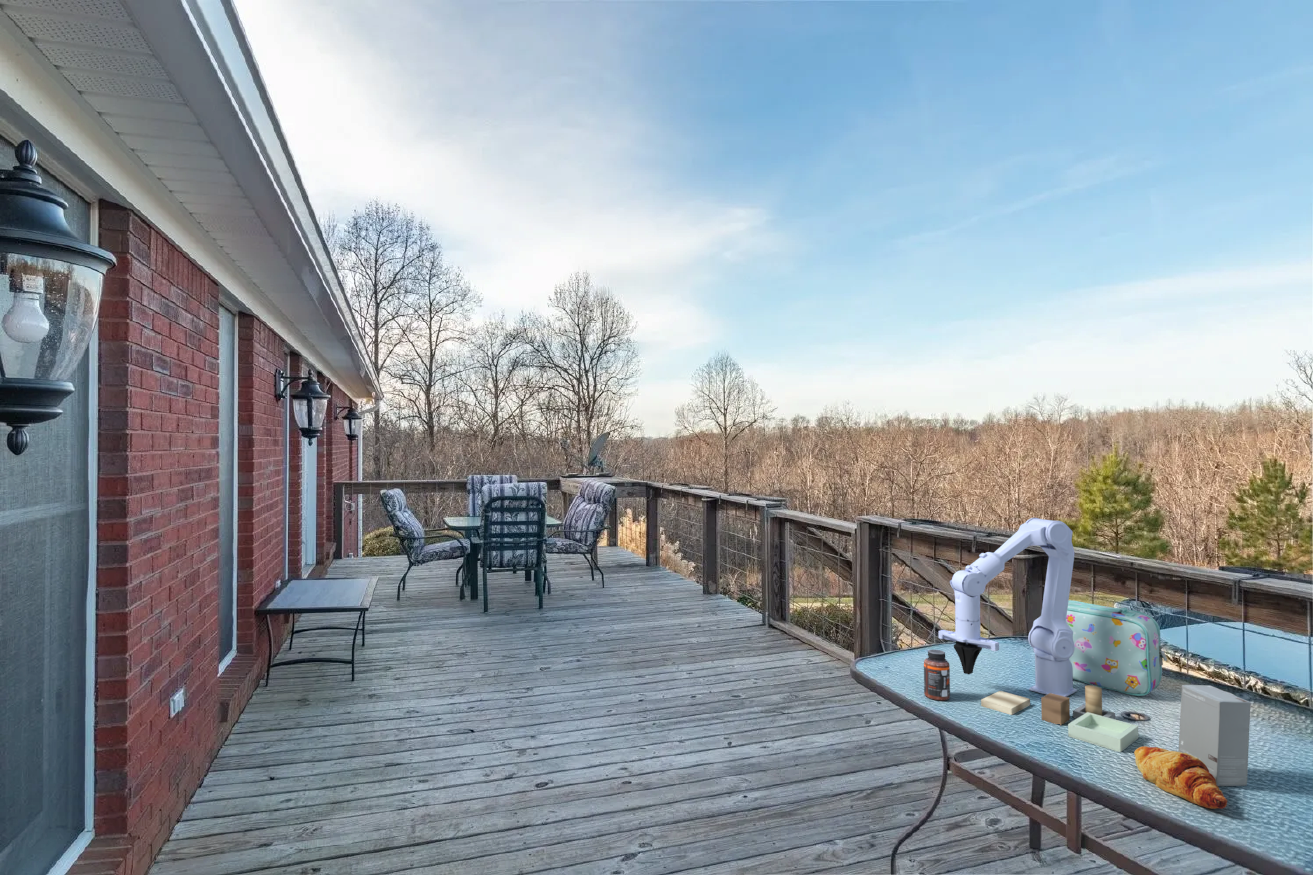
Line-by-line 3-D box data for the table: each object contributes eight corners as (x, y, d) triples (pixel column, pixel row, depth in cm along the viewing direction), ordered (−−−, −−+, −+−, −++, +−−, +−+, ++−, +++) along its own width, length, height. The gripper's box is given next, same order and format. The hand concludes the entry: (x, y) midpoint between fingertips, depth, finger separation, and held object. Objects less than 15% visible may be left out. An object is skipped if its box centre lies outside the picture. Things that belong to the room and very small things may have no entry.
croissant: (1123, 777, 128) (1103, 740, 129) (1169, 753, 128) (1148, 717, 129) (1209, 836, 107) (1184, 792, 108) (1264, 809, 107) (1238, 764, 107)
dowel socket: (1083, 710, 153) (1083, 704, 153) (1115, 719, 148) (1115, 712, 148) (1072, 717, 149) (1072, 710, 149) (1105, 726, 144) (1104, 719, 144)
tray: (1087, 723, 145) (1087, 711, 145) (1138, 738, 138) (1138, 725, 138) (1068, 736, 139) (1068, 724, 139) (1120, 752, 131) (1120, 739, 131)
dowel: (1088, 714, 150) (1088, 684, 151) (1104, 719, 148) (1103, 688, 148) (1083, 717, 148) (1082, 687, 149) (1099, 722, 146) (1098, 691, 146)
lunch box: (1172, 695, 163) (1170, 610, 163) (1156, 704, 157) (1154, 615, 158) (1058, 667, 185) (1056, 592, 186) (1040, 674, 179) (1039, 596, 180)
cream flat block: (1000, 698, 162) (1000, 690, 162) (1030, 707, 156) (1030, 698, 156) (981, 707, 156) (981, 699, 156) (1011, 717, 150) (1011, 708, 150)
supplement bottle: (952, 702, 158) (952, 655, 158) (926, 700, 159) (926, 654, 159) (946, 693, 164) (946, 648, 164) (921, 691, 165) (921, 647, 165)
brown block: (1050, 714, 150) (1050, 692, 151) (1069, 720, 147) (1069, 697, 147) (1041, 719, 147) (1041, 697, 147) (1061, 725, 144) (1060, 702, 144)
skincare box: (1176, 766, 125) (1174, 683, 126) (1210, 764, 126) (1208, 682, 126) (1218, 788, 117) (1216, 699, 117) (1254, 786, 117) (1252, 698, 118)
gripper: (932, 615, 167) (932, 668, 167) (989, 627, 156) (989, 684, 155) (946, 611, 171) (946, 663, 171) (1002, 622, 160) (1003, 678, 159)
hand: (968, 673), depth 163 cm, fingers closed
